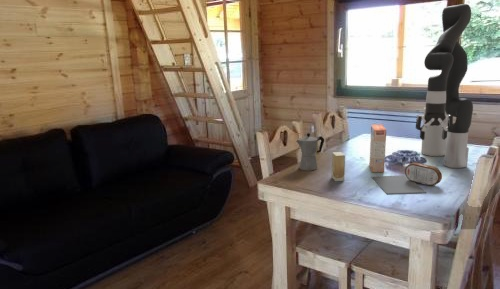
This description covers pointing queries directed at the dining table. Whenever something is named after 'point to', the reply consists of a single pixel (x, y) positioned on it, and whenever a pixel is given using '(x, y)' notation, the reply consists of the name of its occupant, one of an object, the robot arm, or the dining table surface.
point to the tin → (423, 174)
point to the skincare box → (338, 166)
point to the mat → (397, 185)
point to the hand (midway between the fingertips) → (432, 139)
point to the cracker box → (377, 148)
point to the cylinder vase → (434, 140)
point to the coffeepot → (309, 151)
